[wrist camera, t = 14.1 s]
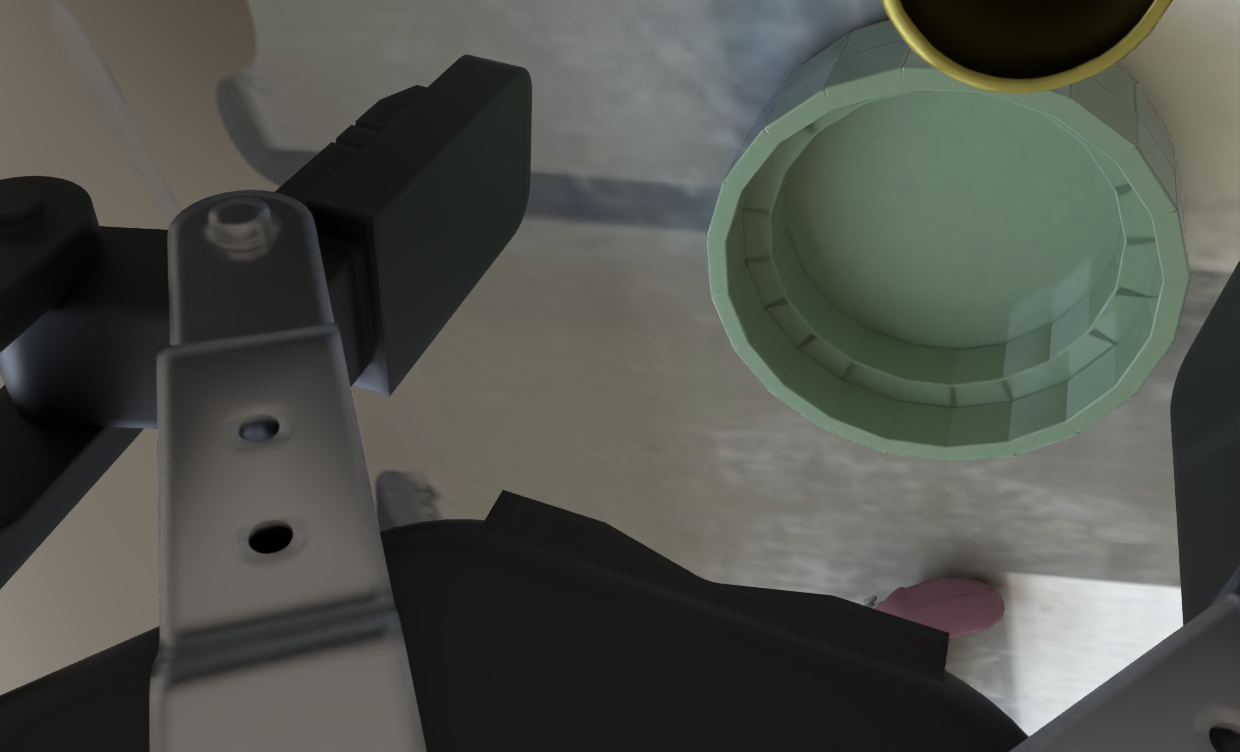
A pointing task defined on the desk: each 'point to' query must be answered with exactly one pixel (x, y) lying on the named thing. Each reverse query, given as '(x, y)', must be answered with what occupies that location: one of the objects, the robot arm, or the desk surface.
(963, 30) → the vase
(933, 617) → the video game controller
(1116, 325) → the bowl
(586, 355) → the desk surface
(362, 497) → the robot arm
